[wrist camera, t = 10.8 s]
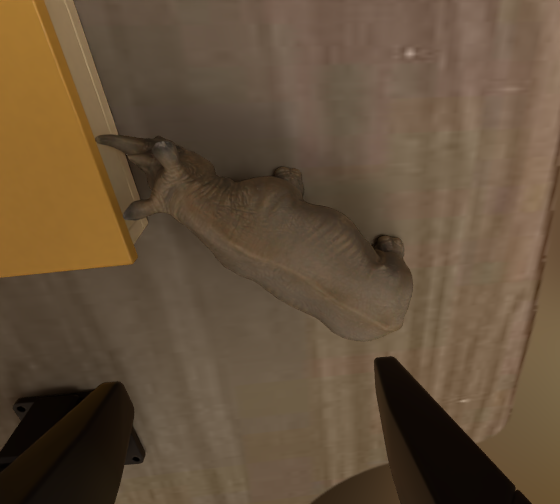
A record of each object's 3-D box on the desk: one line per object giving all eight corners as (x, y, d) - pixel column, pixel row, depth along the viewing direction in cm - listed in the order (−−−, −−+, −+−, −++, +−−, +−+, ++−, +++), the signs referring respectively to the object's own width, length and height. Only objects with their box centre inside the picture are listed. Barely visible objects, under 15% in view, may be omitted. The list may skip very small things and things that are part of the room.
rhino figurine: (147, 67, 16) (78, 90, 11) (418, 236, 19) (464, 316, 14) (110, 155, 18) (35, 211, 13) (364, 296, 21) (387, 387, 16)
